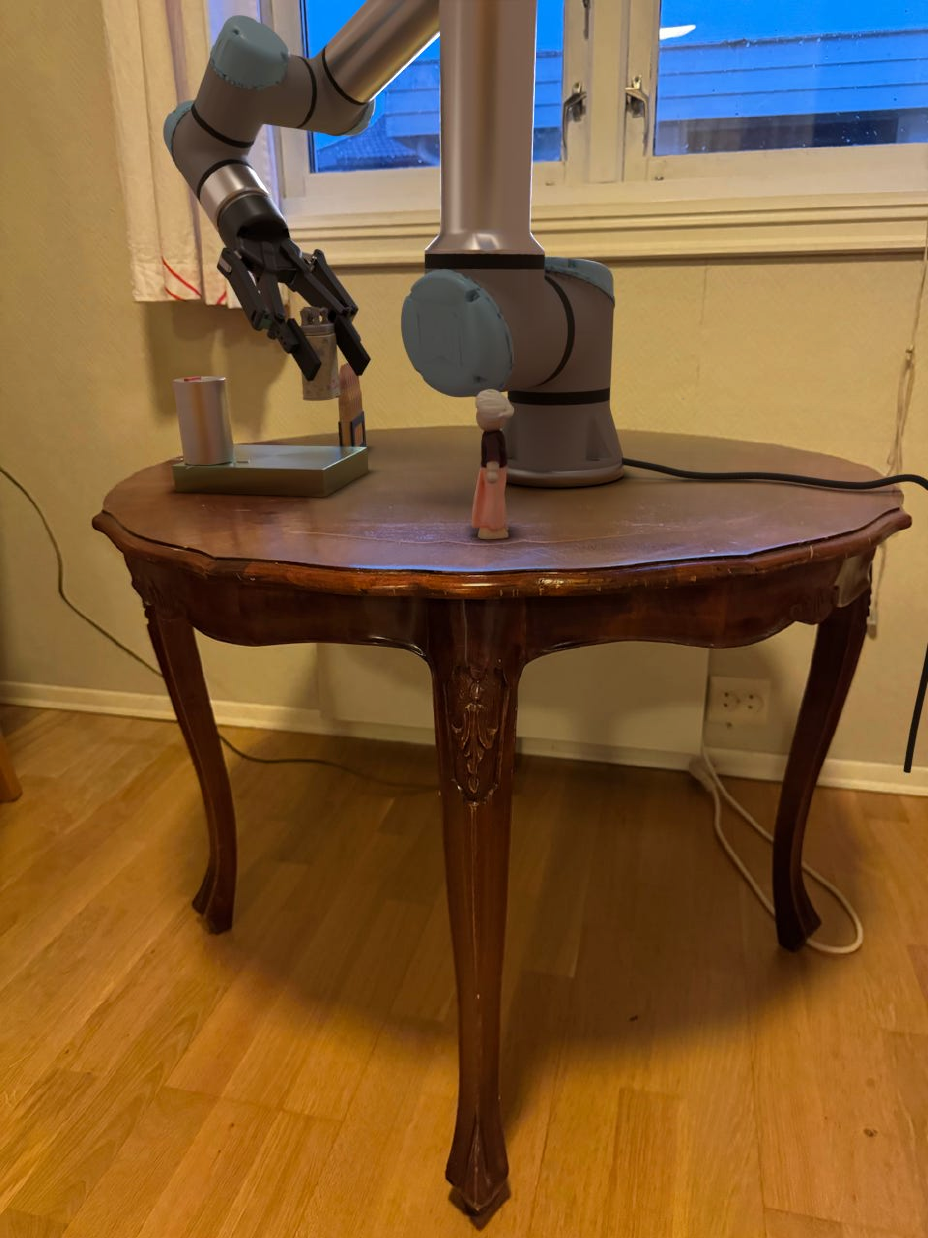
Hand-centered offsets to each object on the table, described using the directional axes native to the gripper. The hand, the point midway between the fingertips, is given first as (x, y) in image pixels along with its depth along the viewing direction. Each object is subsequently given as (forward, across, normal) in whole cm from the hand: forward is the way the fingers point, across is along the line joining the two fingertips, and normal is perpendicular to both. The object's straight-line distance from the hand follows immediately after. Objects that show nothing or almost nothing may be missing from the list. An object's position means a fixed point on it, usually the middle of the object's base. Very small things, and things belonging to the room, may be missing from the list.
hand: (339, 369), depth 97 cm
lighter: (0, 0, -5) cm, 5 cm away
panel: (+4, +7, -14) cm, 16 cm away
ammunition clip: (-1, -11, -19) cm, 22 cm away
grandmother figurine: (+29, +6, +12) cm, 32 cm away
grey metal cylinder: (0, +12, -14) cm, 18 cm away
